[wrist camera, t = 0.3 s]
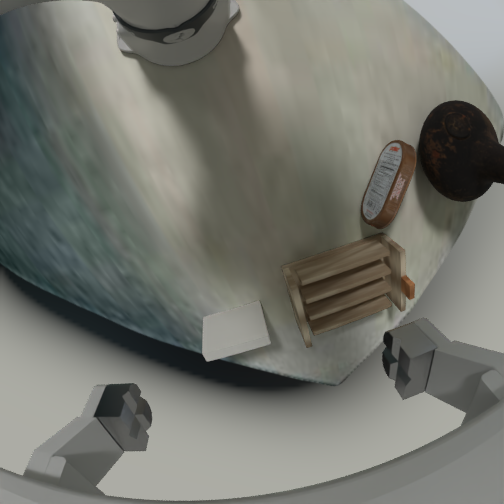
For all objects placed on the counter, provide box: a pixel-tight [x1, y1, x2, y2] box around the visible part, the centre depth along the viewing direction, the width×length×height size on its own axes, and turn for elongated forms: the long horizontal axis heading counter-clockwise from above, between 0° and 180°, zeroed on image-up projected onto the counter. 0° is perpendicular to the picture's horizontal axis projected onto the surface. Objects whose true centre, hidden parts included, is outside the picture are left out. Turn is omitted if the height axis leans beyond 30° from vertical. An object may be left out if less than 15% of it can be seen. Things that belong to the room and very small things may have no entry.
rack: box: [281, 232, 415, 348], centre depth 50 cm, size 13×20×11 cm, turn 107°
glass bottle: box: [419, 100, 504, 202], centre depth 33 cm, size 18×18×28 cm
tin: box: [361, 140, 417, 229], centre depth 44 cm, size 15×3×8 cm, turn 161°
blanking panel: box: [202, 300, 271, 361], centre depth 51 cm, size 2×11×10 cm, turn 107°
